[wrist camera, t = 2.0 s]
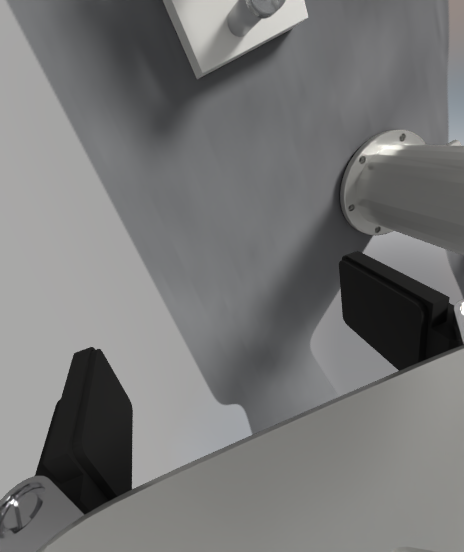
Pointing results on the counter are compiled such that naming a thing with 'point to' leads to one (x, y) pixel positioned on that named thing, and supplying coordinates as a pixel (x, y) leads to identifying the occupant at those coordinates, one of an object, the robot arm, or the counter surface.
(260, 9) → the clip
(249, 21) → the socket block
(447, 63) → the counter surface
